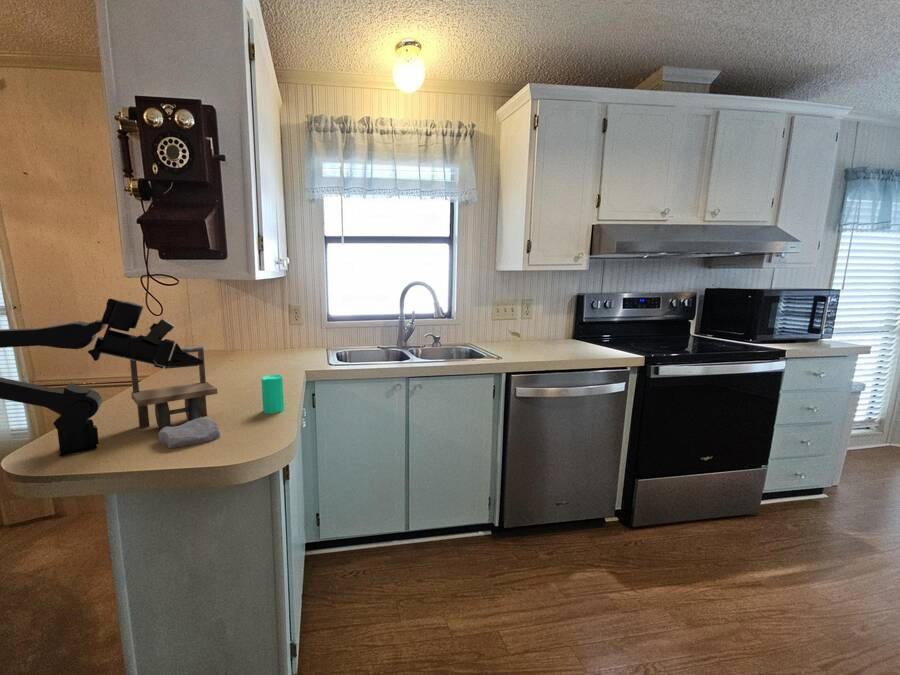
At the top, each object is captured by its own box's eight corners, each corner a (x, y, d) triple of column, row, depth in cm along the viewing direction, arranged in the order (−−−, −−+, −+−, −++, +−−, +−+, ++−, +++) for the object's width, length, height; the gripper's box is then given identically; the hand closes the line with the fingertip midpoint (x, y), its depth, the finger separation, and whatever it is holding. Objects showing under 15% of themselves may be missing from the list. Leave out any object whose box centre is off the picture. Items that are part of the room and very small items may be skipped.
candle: (274, 406, 134) (272, 369, 133) (288, 409, 132) (286, 370, 130) (258, 411, 129) (256, 372, 127) (272, 414, 126) (270, 374, 125)
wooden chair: (141, 437, 107) (133, 358, 105) (134, 426, 115) (127, 352, 113) (219, 421, 120) (214, 350, 117) (208, 412, 128) (203, 345, 125)
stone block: (224, 444, 109) (208, 428, 114) (224, 427, 107) (207, 412, 113) (172, 460, 99) (156, 442, 105) (171, 442, 98) (155, 425, 104)
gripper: (141, 309, 97) (215, 330, 105) (140, 319, 112) (206, 337, 120) (123, 357, 94) (201, 374, 103) (125, 360, 109) (193, 375, 118)
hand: (200, 363), depth 111 cm, fingers open, 9 cm apart
